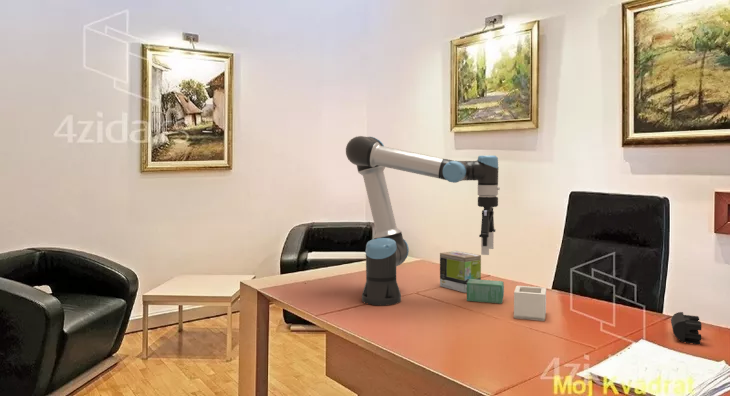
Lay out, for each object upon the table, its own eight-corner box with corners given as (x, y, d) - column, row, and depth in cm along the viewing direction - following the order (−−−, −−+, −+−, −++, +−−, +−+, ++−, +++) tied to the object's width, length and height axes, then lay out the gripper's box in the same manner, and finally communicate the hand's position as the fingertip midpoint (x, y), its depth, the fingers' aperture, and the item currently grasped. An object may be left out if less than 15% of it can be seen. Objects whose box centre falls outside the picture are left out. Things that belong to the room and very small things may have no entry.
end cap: (670, 332, 164) (671, 310, 164) (697, 335, 161) (698, 313, 160) (672, 342, 155) (673, 319, 155) (700, 345, 152) (701, 322, 151)
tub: (513, 318, 179) (514, 292, 179) (516, 310, 189) (516, 285, 188) (544, 321, 176) (545, 294, 175) (545, 312, 185) (546, 287, 184)
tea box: (481, 290, 218) (481, 254, 217) (464, 293, 213) (464, 257, 212) (456, 283, 231) (456, 249, 230) (439, 286, 225) (438, 252, 224)
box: (502, 304, 197) (503, 284, 197) (466, 301, 201) (466, 282, 201) (503, 299, 204) (504, 280, 204) (468, 297, 208) (468, 278, 208)
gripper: (494, 198, 187) (493, 257, 189) (501, 194, 210) (501, 246, 212) (472, 198, 190) (472, 256, 191) (482, 193, 213) (482, 245, 214)
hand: (487, 251), depth 201 cm, fingers open, 13 cm apart
